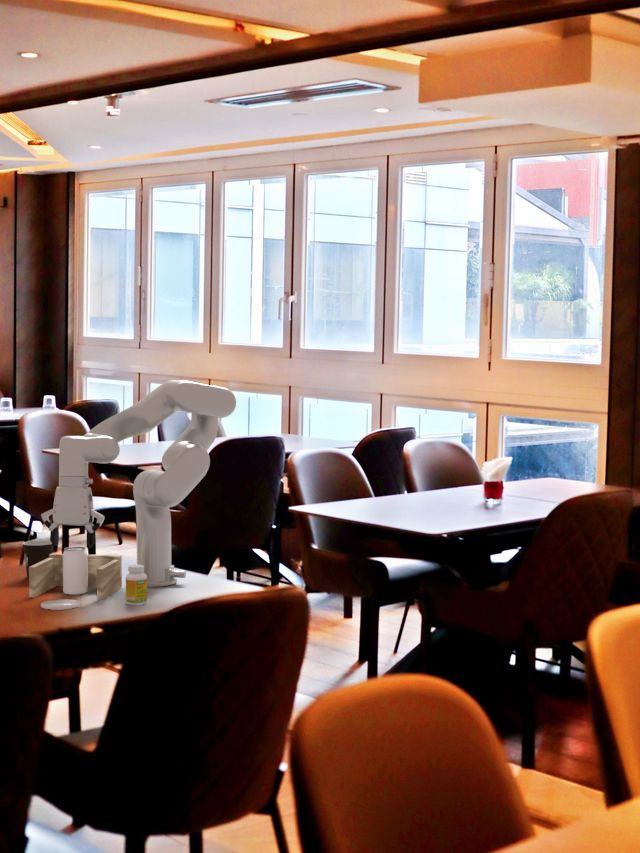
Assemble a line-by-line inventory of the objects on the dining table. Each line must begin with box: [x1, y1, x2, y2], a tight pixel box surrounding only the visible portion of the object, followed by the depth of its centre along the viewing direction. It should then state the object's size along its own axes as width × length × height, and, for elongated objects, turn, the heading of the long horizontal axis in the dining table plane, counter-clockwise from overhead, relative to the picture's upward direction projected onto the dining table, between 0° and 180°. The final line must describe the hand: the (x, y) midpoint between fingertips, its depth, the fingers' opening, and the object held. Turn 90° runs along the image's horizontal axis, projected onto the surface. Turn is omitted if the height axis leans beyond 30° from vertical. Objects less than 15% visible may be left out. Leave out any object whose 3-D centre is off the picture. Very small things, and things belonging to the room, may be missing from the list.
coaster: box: [40, 598, 82, 611], centre depth 308 cm, size 10×10×1 cm
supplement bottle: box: [125, 564, 148, 606], centre depth 311 cm, size 5×5×10 cm
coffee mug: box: [22, 539, 54, 580], centre depth 346 cm, size 12×9×10 cm
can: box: [62, 546, 89, 596], centre depth 324 cm, size 6×6×12 cm
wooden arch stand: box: [28, 553, 123, 600], centre depth 324 cm, size 20×16×9 cm
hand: (72, 546), depth 323 cm, fingers open, 9 cm apart
